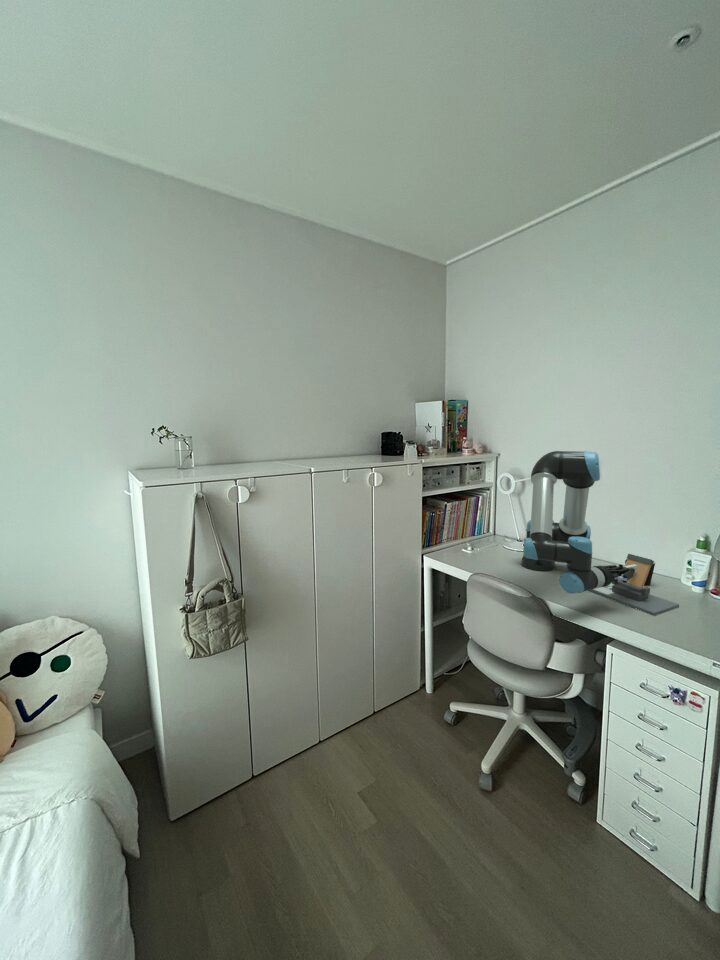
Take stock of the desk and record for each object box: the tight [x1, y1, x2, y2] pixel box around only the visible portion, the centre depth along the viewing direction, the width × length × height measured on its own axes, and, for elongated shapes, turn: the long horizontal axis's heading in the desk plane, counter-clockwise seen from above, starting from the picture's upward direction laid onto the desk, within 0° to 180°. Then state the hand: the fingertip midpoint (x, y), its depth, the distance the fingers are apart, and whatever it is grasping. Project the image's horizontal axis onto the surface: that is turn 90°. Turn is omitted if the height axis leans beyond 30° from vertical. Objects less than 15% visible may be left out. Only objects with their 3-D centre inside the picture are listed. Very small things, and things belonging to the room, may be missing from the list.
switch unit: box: [586, 581, 680, 616], centre depth 152 cm, size 26×16×6 cm, turn 25°
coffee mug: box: [624, 558, 656, 587], centre depth 168 cm, size 12×9×10 cm
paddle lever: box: [617, 553, 655, 591], centre depth 152 cm, size 9×2×13 cm, turn 25°
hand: (635, 568), depth 152 cm, fingers closed
